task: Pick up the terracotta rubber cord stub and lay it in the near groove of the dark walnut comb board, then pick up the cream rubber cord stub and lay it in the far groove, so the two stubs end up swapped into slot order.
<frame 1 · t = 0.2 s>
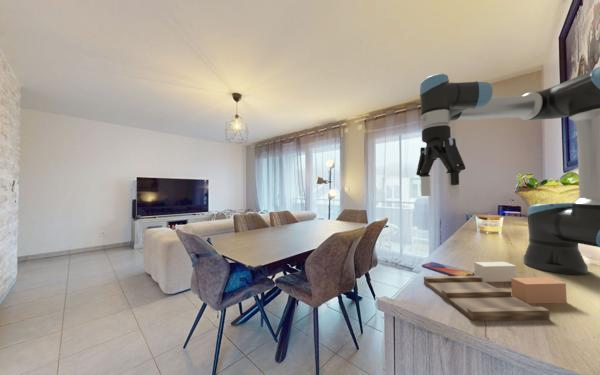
hand: (438, 196, 67), 27 cm above the sideboard, fingers open, 13 cm apart
terracotta stub: (538, 299, 58), on the sideboard
comb board: (475, 298, 59), on the sideboard
smartphone: (446, 272, 79), on the sideboard
cream stub: (495, 279, 71), on the sideboard
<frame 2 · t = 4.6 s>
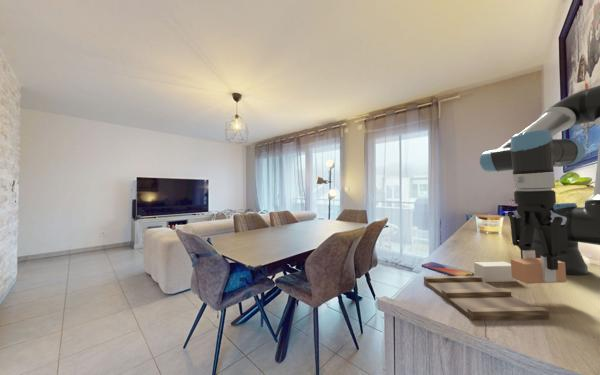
hand: (539, 277, 58), 6 cm above the sideboard, fingers closed on terracotta stub, 4 cm apart
terracotta stub: (538, 279, 58), point 5 cm above the sideboard, touching gripper
everything else where it was.
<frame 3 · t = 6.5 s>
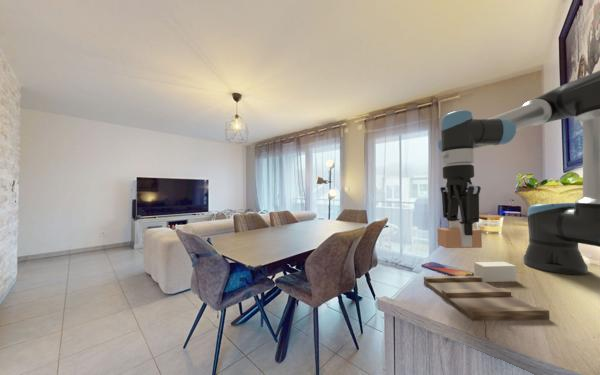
hand: (460, 244, 64), 13 cm above the sideboard, fingers closed on terracotta stub, 4 cm apart
terracotta stub: (459, 246, 64), point 13 cm above the sideboard, touching gripper
everything else where it was.
when the fingers open (3 cm above the sideboard, at t = 8.5 s): terracotta stub drops 1 cm, resting on comb board.
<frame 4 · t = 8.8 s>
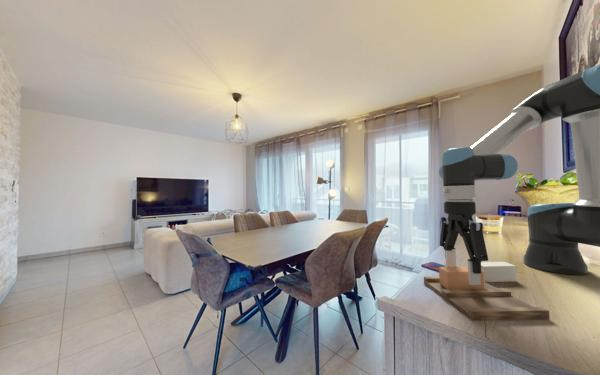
hand: (462, 277, 64), 4 cm above the sideboard, fingers open, 9 cm apart
terracotta stub: (461, 286, 64), point 1 cm above the sideboard, touching comb board
everything else where it was.
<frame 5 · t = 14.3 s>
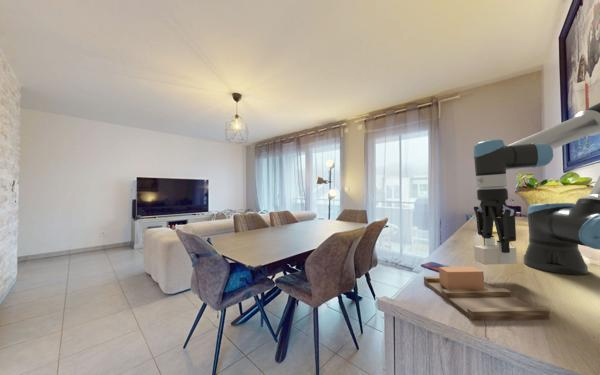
hand: (497, 259, 71), 6 cm above the sideboard, fingers closed on cream stub, 4 cm apart
cream stub: (495, 262, 70), point 5 cm above the sideboard, touching gripper
everything else where it was.
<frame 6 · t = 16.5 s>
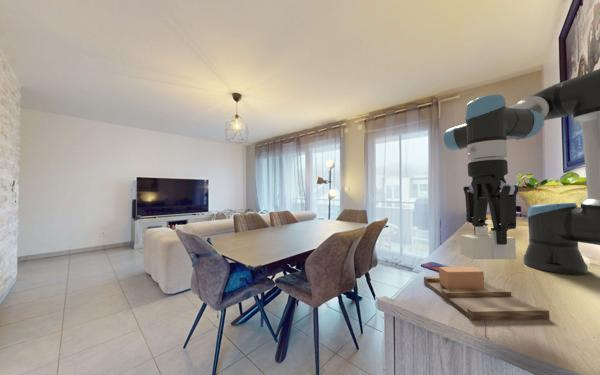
hand: (490, 254, 54), 13 cm above the sideboard, fingers closed on cream stub, 4 cm apart
cream stub: (487, 256, 54), point 13 cm above the sideboard, touching gripper
everything else where it was.
when the fingers open (3 cm above the sideboard, at t = 18.5 s): cream stub drops 1 cm, resting on comb board.
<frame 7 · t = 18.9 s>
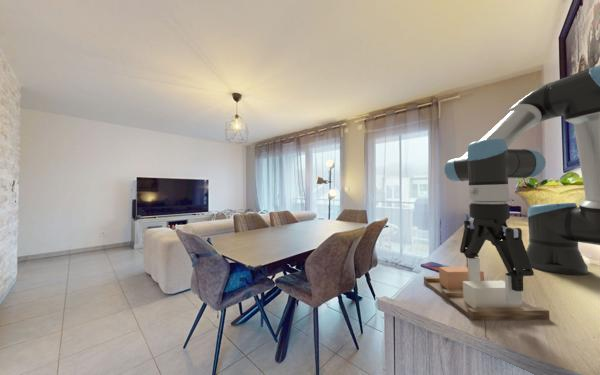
hand: (492, 291, 54), 4 cm above the sideboard, fingers open, 10 cm apart
cream stub: (489, 304, 54), point 1 cm above the sideboard, touching comb board
everything else where it was.
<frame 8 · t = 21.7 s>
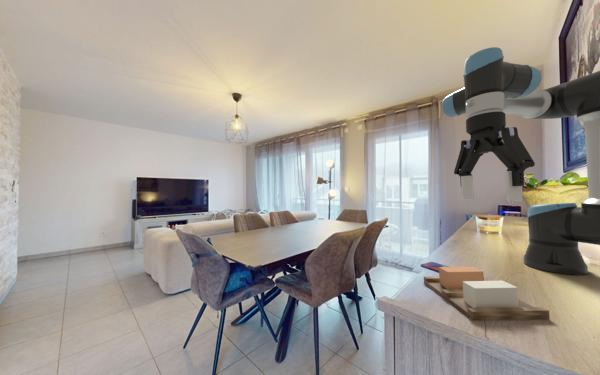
hand: (488, 200, 54), 27 cm above the sideboard, fingers open, 13 cm apart
nothing on the sideboard moved.
at the end: terracotta stub inside the target area on the comb board (0.4 cm from its centre), point 1.0 cm above the comb board's base; cream stub inside the target area on the comb board (0.9 cm from its centre), point 1.0 cm above the comb board's base; the gripper is holding nothing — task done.
